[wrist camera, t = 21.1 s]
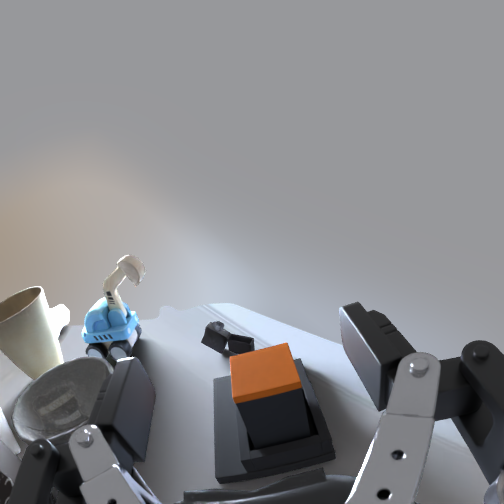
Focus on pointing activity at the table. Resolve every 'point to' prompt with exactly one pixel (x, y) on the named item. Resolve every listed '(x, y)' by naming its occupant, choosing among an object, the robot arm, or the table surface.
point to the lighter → (226, 339)
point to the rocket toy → (7, 435)
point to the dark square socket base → (271, 458)
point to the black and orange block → (269, 396)
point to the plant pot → (29, 332)
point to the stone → (59, 317)
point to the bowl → (60, 400)
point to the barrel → (9, 473)
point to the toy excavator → (114, 315)
